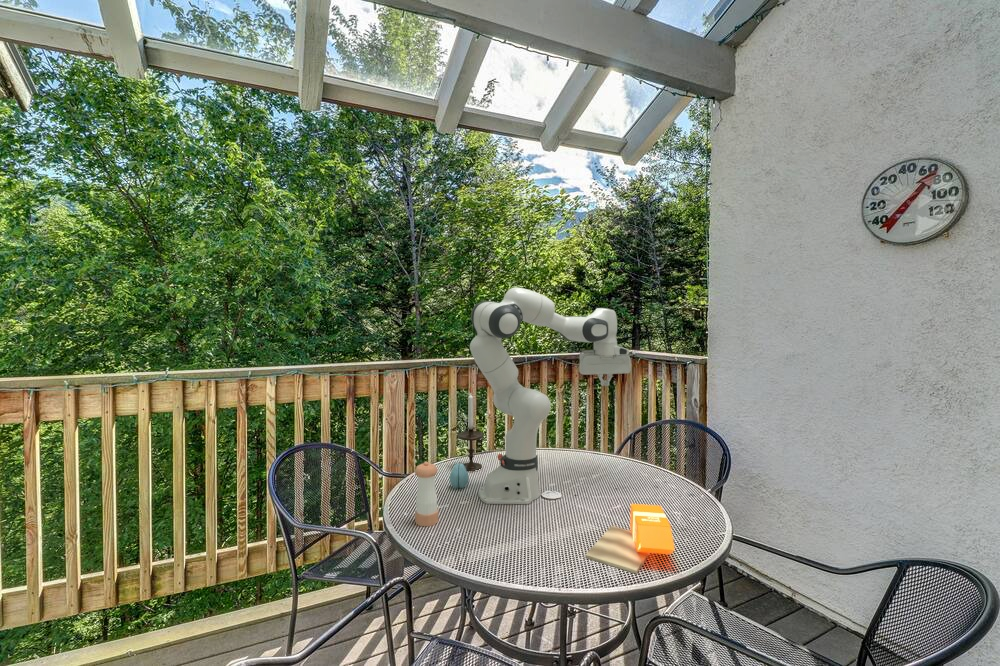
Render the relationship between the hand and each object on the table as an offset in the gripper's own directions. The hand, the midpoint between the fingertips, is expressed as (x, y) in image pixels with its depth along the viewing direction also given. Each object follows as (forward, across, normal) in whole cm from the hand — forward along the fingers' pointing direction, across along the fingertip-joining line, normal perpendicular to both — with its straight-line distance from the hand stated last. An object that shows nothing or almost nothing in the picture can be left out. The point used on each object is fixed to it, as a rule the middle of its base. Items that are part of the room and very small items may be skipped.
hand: (604, 385), depth 182 cm
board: (+37, -15, -51) cm, 65 cm away
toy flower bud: (+37, -56, +4) cm, 68 cm away
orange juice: (+33, -4, -42) cm, 54 cm away
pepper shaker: (+37, -69, -24) cm, 82 cm away
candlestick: (+37, -50, +22) cm, 66 cm away
